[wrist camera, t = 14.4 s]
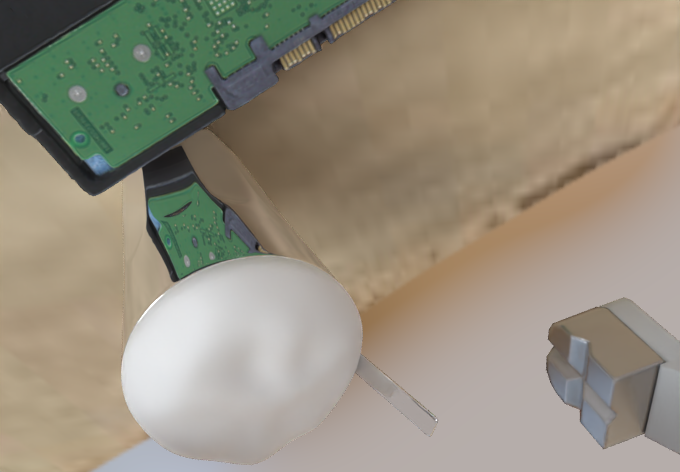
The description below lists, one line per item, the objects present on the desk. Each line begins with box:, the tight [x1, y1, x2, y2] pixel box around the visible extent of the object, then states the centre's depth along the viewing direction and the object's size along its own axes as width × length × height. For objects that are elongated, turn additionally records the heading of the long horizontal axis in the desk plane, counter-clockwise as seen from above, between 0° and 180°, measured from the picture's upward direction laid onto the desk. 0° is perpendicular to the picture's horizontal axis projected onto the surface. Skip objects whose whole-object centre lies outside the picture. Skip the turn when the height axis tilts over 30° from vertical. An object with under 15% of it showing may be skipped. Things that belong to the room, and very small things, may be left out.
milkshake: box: [121, 129, 438, 465], centre depth 15 cm, size 4×5×10 cm
